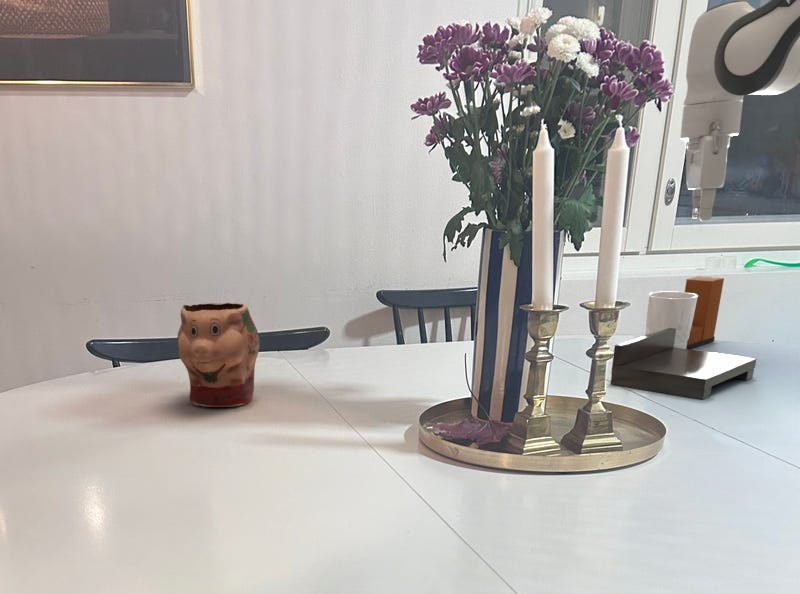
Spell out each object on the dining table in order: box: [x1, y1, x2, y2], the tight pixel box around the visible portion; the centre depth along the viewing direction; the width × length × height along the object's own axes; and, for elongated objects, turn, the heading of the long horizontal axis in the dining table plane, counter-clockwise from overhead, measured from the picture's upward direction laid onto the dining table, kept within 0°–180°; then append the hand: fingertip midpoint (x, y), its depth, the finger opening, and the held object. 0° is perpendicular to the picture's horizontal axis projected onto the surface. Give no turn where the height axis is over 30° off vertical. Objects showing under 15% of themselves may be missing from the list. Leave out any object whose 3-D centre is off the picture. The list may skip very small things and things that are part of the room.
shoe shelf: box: [610, 328, 757, 400], centre depth 146 cm, size 15×18×6 cm
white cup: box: [644, 291, 698, 349], centre depth 162 cm, size 8×8×10 cm
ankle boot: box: [684, 275, 725, 350], centre depth 169 cm, size 5×10×11 cm, turn 135°
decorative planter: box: [176, 302, 260, 408], centre depth 141 cm, size 20×12×14 cm, turn 179°
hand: (701, 219), depth 156 cm, fingers open, 8 cm apart
